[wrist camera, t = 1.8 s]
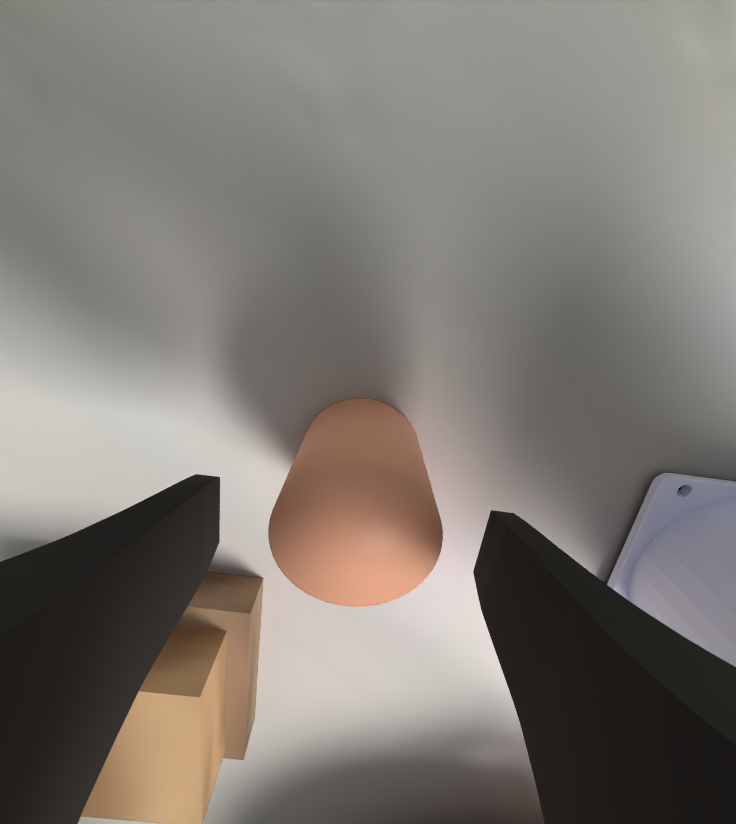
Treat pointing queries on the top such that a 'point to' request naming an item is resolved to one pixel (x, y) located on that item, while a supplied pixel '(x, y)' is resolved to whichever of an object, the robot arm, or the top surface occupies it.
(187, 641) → the top block
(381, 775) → the top surface
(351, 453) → the peach capsule
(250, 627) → the bottom block
